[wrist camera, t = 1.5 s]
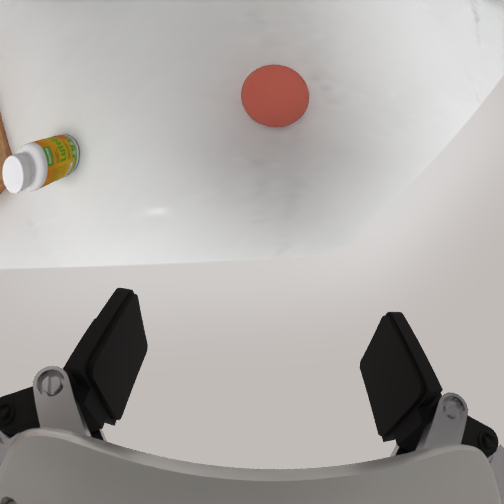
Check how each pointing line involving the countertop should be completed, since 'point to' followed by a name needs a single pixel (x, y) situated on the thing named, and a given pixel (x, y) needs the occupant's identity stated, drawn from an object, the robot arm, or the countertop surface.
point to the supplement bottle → (40, 163)
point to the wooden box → (3, 153)
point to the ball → (275, 95)
